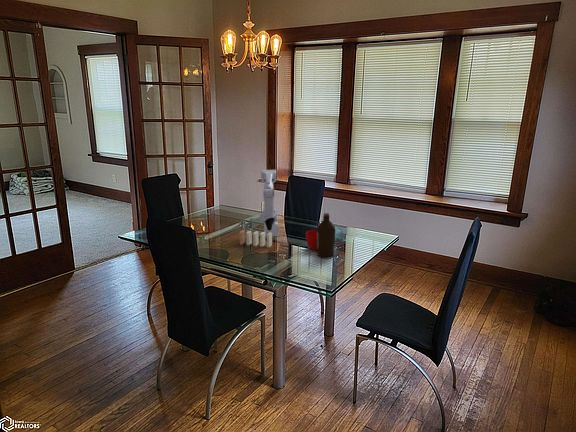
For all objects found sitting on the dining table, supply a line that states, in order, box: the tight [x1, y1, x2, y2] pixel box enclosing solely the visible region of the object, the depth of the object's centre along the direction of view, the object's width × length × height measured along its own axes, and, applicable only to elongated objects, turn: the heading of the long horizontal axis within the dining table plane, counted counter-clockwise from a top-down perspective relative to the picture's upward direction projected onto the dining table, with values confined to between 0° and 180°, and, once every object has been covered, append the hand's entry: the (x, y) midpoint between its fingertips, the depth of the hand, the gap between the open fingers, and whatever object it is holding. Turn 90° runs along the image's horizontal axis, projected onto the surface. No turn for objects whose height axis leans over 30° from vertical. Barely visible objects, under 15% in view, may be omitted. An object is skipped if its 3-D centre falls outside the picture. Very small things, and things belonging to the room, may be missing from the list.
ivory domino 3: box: [259, 231, 266, 247], centre depth 253 cm, size 2×5×8 cm, turn 163°
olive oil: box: [316, 212, 336, 259], centre depth 233 cm, size 11×11×25 cm
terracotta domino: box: [239, 229, 246, 246], centre depth 256 cm, size 2×5×8 cm, turn 163°
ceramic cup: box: [305, 229, 317, 252], centre depth 248 cm, size 13×17×10 cm
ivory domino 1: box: [245, 230, 253, 246], centre depth 255 cm, size 2×5×8 cm, turn 163°
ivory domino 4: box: [266, 232, 273, 248], centre depth 251 cm, size 2×5×8 cm, turn 163°
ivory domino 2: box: [252, 230, 260, 247], centre depth 254 cm, size 2×5×8 cm, turn 163°
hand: (269, 229), depth 250 cm, fingers closed
